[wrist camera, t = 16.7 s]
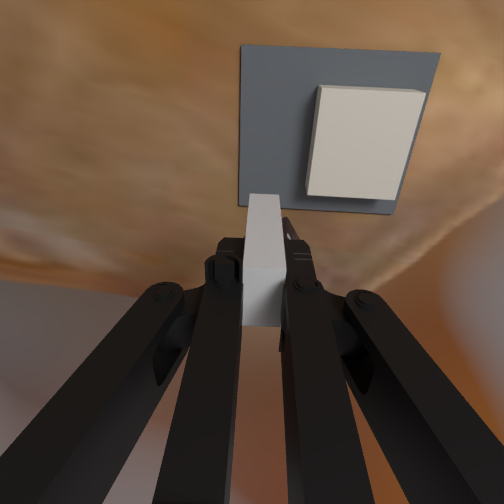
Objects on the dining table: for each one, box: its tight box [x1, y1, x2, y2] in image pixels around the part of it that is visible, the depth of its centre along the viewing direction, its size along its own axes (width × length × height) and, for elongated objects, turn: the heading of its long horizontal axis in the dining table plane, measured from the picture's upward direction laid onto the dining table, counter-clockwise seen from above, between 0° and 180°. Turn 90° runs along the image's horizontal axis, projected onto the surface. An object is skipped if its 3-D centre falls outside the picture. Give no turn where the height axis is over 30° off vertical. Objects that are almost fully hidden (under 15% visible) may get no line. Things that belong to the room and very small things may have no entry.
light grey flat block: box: [305, 85, 426, 200], centre depth 32 cm, size 3×10×9 cm
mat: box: [239, 45, 441, 214], centre depth 34 cm, size 18×16×1 cm
